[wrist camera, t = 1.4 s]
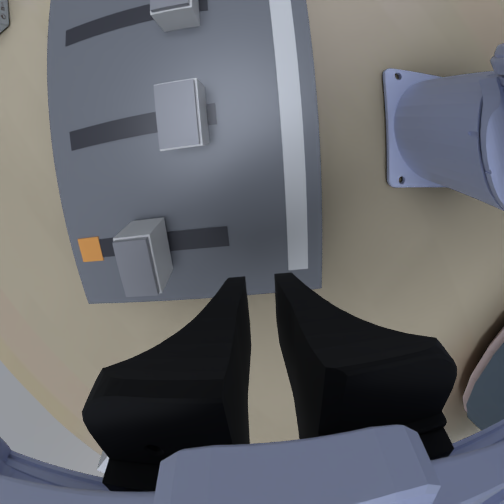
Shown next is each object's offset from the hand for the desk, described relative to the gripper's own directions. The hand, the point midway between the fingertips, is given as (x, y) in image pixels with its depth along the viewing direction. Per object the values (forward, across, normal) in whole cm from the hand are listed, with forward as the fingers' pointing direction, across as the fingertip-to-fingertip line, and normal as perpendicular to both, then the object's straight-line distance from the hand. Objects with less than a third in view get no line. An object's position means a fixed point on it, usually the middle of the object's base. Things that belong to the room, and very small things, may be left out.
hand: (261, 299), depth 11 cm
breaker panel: (+9, +4, -7) cm, 12 cm away
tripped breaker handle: (+7, +6, 0) cm, 9 cm away
